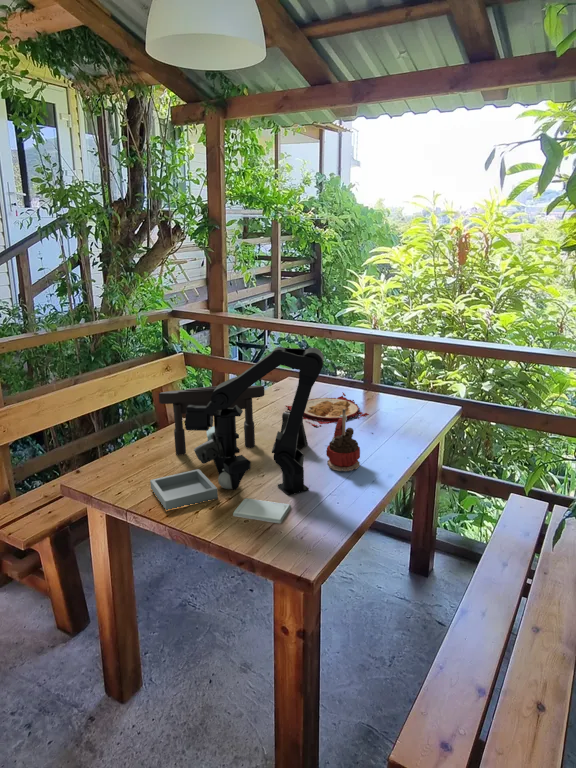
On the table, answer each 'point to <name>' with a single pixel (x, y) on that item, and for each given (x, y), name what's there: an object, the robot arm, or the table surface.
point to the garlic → (224, 480)
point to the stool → (202, 398)
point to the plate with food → (330, 409)
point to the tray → (183, 489)
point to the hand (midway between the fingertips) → (227, 483)
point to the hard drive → (262, 510)
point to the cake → (343, 448)
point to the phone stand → (301, 434)
